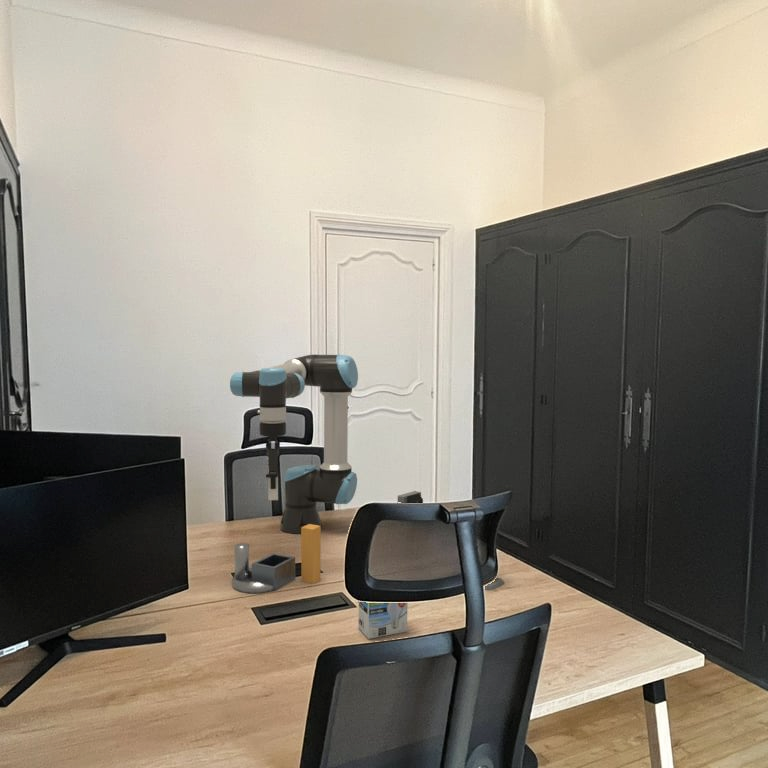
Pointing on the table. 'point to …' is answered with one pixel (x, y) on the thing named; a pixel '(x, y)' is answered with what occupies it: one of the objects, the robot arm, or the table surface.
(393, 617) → the light bulb box
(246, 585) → the bracket
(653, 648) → the table surface
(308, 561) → the orange rectangular block
